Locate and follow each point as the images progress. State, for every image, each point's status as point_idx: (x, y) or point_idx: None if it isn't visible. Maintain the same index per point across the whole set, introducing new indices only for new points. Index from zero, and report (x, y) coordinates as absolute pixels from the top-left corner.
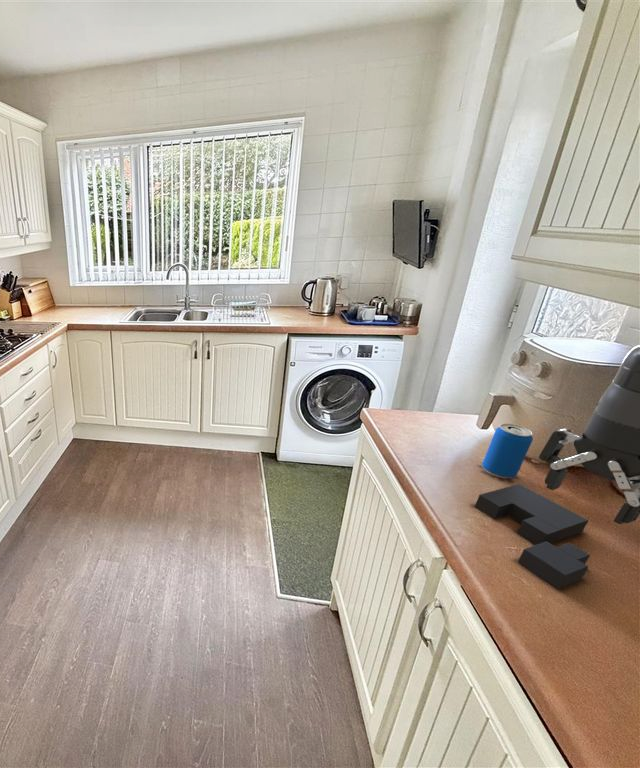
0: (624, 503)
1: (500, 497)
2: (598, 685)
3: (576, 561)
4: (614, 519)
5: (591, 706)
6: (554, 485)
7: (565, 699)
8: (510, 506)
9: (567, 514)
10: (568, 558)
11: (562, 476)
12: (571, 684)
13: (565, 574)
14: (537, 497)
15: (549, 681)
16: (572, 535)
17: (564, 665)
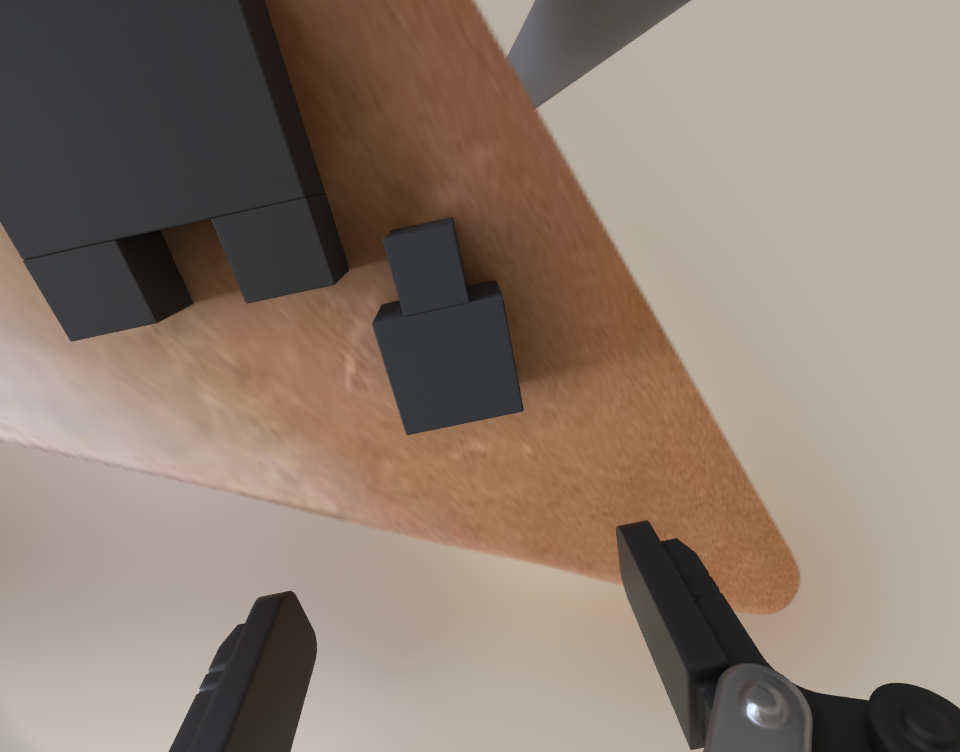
0: (688, 740)
1: (73, 258)
2: (720, 522)
3: (476, 315)
4: (630, 602)
5: (739, 564)
6: (301, 665)
7: None
8: (130, 241)
9: (175, 15)
10: (460, 330)
11: (259, 713)
12: (703, 562)
13: (520, 408)
14: (24, 36)
15: None
16: (280, 53)
17: None
